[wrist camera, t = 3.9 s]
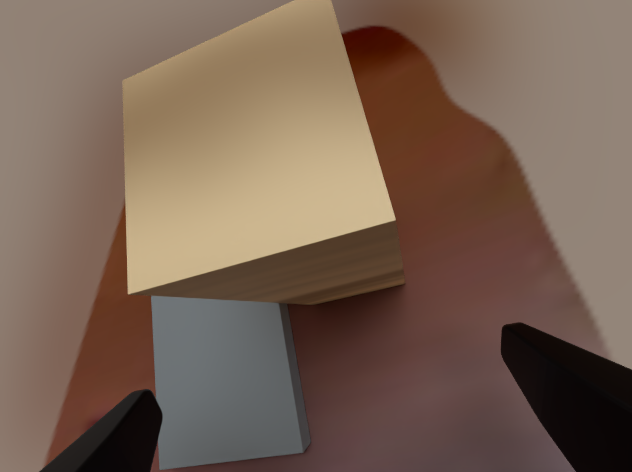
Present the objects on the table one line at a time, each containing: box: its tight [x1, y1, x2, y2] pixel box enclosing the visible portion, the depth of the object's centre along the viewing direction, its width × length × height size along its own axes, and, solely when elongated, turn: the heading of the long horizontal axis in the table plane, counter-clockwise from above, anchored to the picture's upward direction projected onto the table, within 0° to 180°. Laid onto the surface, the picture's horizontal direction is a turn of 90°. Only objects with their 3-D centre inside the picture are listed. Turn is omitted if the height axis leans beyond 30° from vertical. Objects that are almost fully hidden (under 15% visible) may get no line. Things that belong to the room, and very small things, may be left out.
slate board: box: [151, 296, 311, 470], centre depth 18 cm, size 14×8×1 cm, turn 12°
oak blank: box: [123, 0, 405, 305], centre depth 12 cm, size 5×5×12 cm
